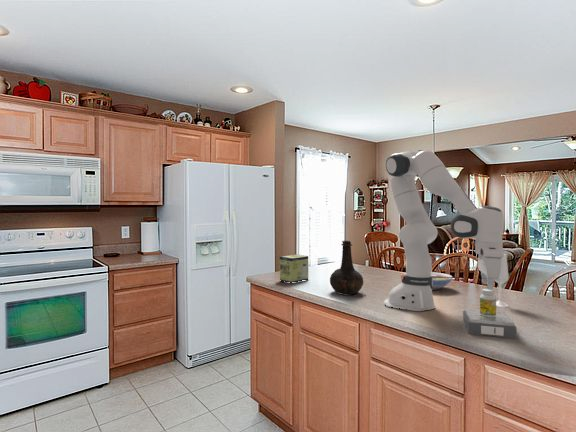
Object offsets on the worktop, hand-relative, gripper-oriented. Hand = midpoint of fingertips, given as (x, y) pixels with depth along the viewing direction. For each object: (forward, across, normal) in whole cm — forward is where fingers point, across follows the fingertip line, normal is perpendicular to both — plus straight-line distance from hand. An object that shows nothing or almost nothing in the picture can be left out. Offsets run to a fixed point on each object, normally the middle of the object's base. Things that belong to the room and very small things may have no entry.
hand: (487, 286), depth 134 cm
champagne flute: (+17, -38, +13) cm, 44 cm away
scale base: (+16, +1, +1) cm, 16 cm away
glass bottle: (+18, -40, -59) cm, 74 cm away
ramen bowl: (+18, -64, -16) cm, 69 cm away
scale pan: (+12, 0, +1) cm, 12 cm away
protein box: (+20, -60, -95) cm, 114 cm away
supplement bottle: (+11, +1, 0) cm, 11 cm away
